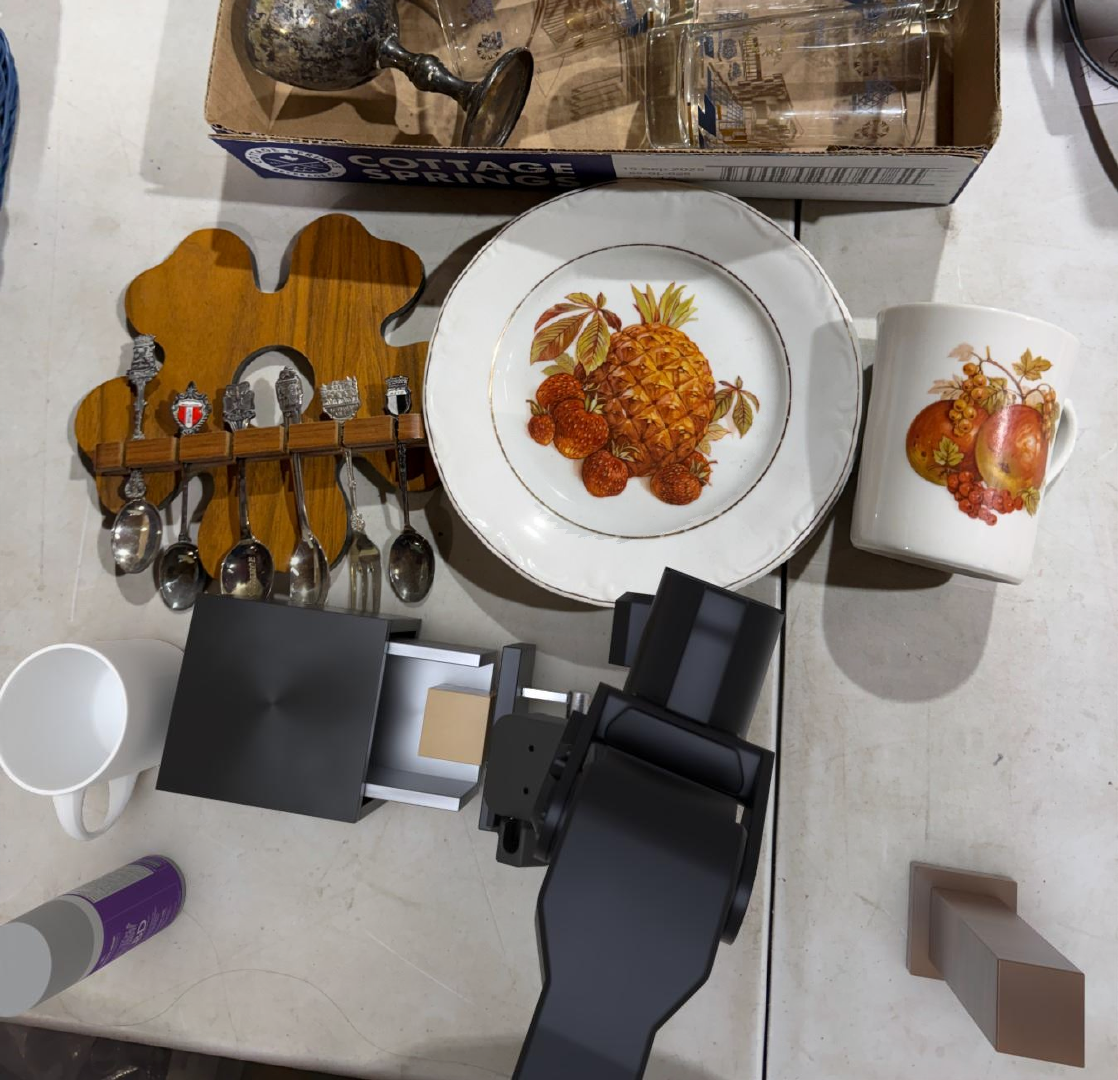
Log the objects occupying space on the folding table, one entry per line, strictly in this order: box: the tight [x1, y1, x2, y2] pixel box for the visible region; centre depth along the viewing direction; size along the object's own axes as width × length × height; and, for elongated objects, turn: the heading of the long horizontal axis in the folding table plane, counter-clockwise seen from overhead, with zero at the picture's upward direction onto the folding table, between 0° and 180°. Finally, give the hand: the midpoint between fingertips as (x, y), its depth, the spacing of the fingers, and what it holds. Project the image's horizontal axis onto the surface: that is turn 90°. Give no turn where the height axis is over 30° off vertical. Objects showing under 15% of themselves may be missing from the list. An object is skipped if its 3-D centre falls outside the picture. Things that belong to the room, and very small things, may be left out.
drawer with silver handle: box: [363, 635, 592, 834], centre depth 64 cm, size 16×10×7 cm, turn 82°
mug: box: [0, 638, 184, 842], centre depth 65 cm, size 9×12×11 cm
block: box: [418, 684, 497, 766], centre depth 64 cm, size 4×4×4 cm
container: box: [0, 854, 187, 1018], centre depth 60 cm, size 5×5×15 cm
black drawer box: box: [154, 592, 423, 825], centre depth 66 cm, size 13×12×9 cm
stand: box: [905, 861, 1086, 1069], centre depth 55 cm, size 6×6×14 cm
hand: (657, 756), depth 62 cm, fingers closed
